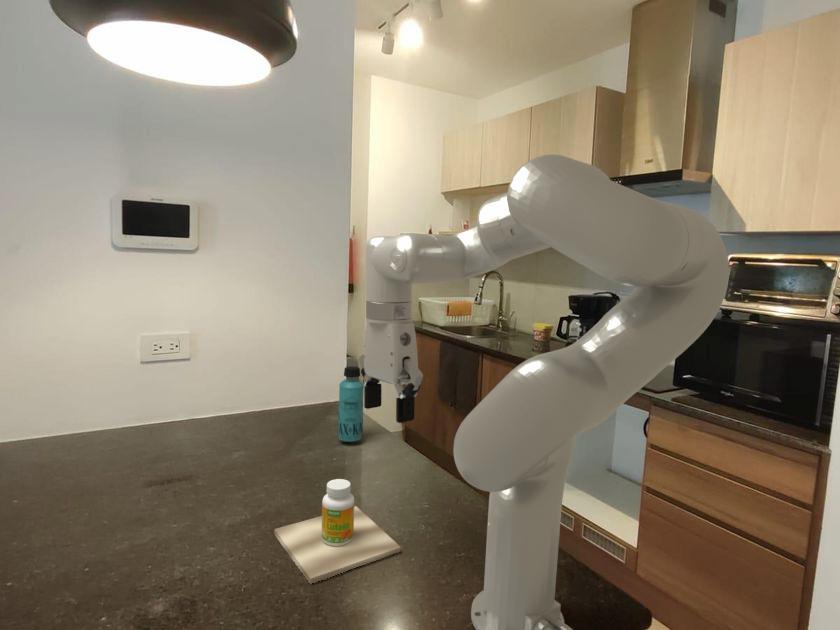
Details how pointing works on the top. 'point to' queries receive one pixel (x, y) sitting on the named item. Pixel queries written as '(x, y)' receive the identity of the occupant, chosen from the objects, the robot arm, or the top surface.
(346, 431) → the beverage bottle
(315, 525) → the birch board
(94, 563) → the top surface
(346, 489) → the supplement bottle
